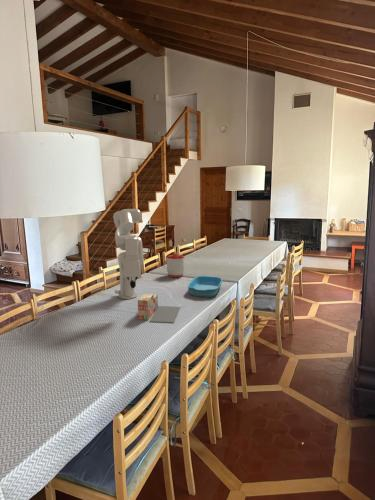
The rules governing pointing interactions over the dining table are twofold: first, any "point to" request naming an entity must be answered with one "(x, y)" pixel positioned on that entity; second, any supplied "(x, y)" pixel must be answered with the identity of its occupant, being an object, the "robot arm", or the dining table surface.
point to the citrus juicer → (175, 265)
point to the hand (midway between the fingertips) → (133, 287)
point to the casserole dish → (205, 286)
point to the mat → (165, 314)
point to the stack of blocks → (147, 306)
